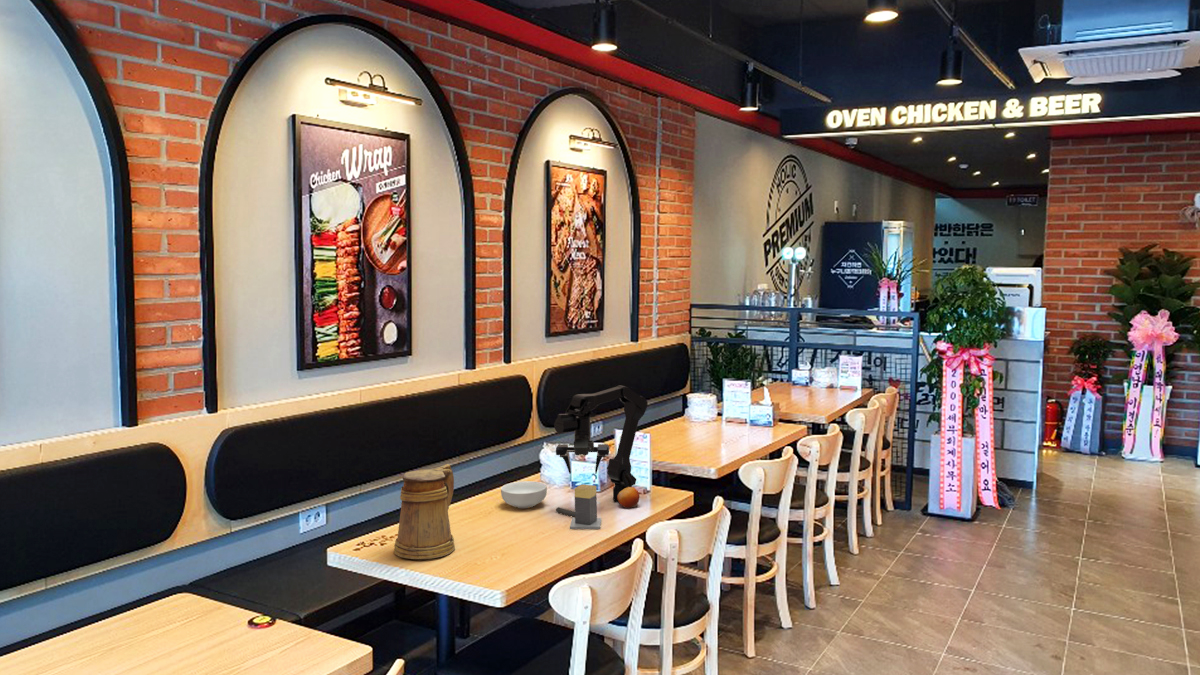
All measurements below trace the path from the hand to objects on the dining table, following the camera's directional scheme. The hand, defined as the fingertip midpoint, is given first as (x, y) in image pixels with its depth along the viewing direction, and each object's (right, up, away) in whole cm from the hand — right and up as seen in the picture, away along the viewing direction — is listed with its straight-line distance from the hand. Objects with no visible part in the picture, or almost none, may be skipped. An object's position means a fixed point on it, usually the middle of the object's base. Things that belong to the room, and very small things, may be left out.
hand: (583, 473), depth 317 cm
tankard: (-47, -18, -40) cm, 64 cm away
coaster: (+1, -15, -18) cm, 23 cm away
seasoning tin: (+1, -14, -18) cm, 22 cm away
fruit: (+16, -13, +4) cm, 21 cm away
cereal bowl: (-22, -13, +7) cm, 26 cm away
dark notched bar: (-4, -14, -6) cm, 16 cm away
